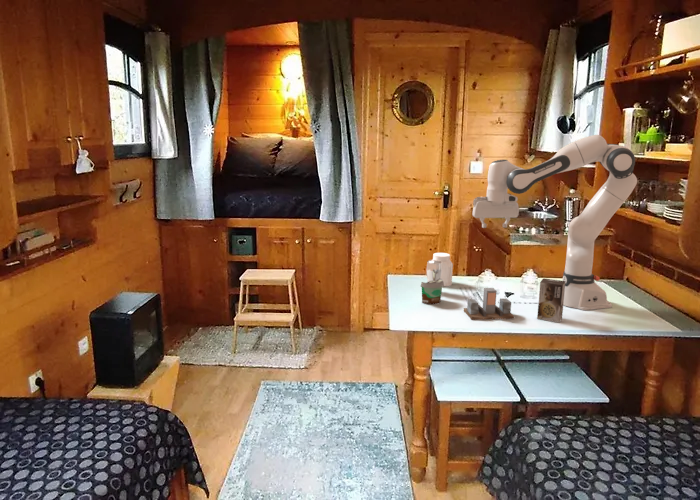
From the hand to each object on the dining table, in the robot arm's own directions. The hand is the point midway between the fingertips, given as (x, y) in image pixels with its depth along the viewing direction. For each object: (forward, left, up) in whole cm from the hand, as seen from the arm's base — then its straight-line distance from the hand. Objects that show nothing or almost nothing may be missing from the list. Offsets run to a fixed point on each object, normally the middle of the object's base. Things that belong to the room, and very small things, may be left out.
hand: (494, 227), depth 244 cm
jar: (+17, -24, -33) cm, 44 cm away
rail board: (+8, +22, -33) cm, 40 cm away
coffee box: (-16, +28, -33) cm, 46 cm away
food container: (+27, +5, -33) cm, 43 cm away
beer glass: (+24, -10, -33) cm, 42 cm away
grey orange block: (+8, +22, -32) cm, 40 cm away
